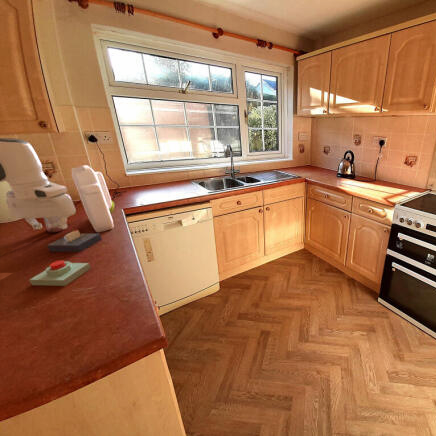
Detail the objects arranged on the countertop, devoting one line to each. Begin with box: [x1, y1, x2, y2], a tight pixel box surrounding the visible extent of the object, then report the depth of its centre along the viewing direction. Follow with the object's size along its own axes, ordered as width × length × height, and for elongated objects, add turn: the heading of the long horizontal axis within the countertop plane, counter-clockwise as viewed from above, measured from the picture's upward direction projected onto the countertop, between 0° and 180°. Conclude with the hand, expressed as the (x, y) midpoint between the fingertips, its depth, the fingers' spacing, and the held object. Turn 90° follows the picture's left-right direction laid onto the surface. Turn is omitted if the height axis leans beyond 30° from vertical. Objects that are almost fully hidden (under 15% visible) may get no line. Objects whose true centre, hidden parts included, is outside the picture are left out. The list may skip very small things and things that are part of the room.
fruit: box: [109, 200, 115, 214], centre depth 139 cm, size 9×9×10 cm
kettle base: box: [29, 260, 92, 287], centre depth 83 cm, size 12×10×4 cm
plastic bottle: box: [43, 218, 64, 234], centre depth 117 cm, size 6×7×20 cm
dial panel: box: [46, 233, 103, 253], centre depth 105 cm, size 14×11×3 cm
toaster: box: [70, 164, 114, 233], centre depth 121 cm, size 27×11×30 cm, turn 44°
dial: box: [64, 229, 81, 242], centre depth 104 cm, size 5×1×3 cm, turn 175°
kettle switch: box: [49, 259, 66, 270], centre depth 82 cm, size 4×4×2 cm
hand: (51, 228), depth 84 cm, fingers open, 8 cm apart
